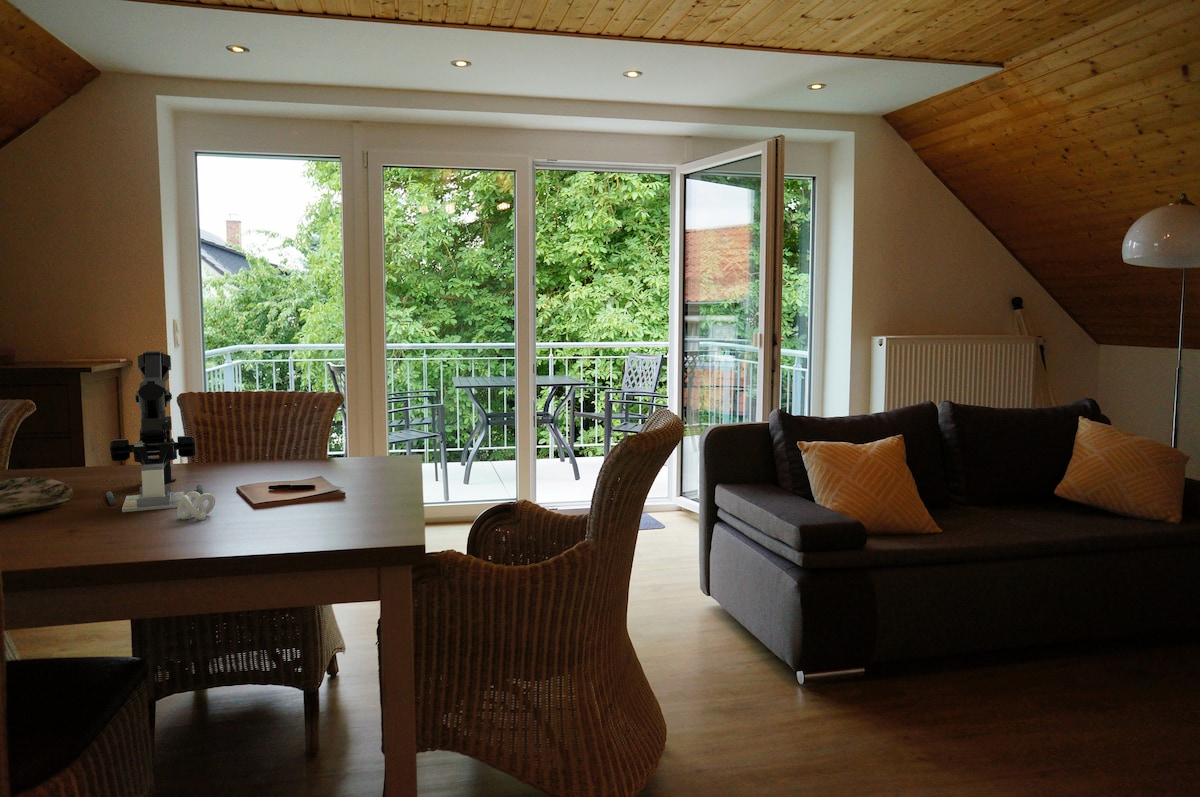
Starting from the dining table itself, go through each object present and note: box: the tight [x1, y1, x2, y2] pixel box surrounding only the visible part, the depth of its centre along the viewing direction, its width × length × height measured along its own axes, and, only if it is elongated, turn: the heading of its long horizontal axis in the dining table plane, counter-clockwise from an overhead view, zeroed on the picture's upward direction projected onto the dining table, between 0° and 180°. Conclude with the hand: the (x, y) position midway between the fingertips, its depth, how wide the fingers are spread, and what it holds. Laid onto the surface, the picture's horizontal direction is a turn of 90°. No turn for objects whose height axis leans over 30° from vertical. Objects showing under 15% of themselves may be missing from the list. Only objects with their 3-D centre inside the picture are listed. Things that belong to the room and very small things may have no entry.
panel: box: [121, 484, 185, 513], centre depth 207 cm, size 16×13×3 cm
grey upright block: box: [140, 464, 165, 498], centre depth 203 cm, size 4×4×9 cm
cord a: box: [196, 484, 204, 495], centre depth 218 cm, size 12×1×1 cm, turn 26°
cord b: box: [105, 491, 117, 506], centre depth 209 cm, size 12×1×1 cm, turn 34°
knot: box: [176, 490, 216, 521], centre depth 192 cm, size 8×8×6 cm
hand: (154, 475), depth 207 cm, fingers closed
